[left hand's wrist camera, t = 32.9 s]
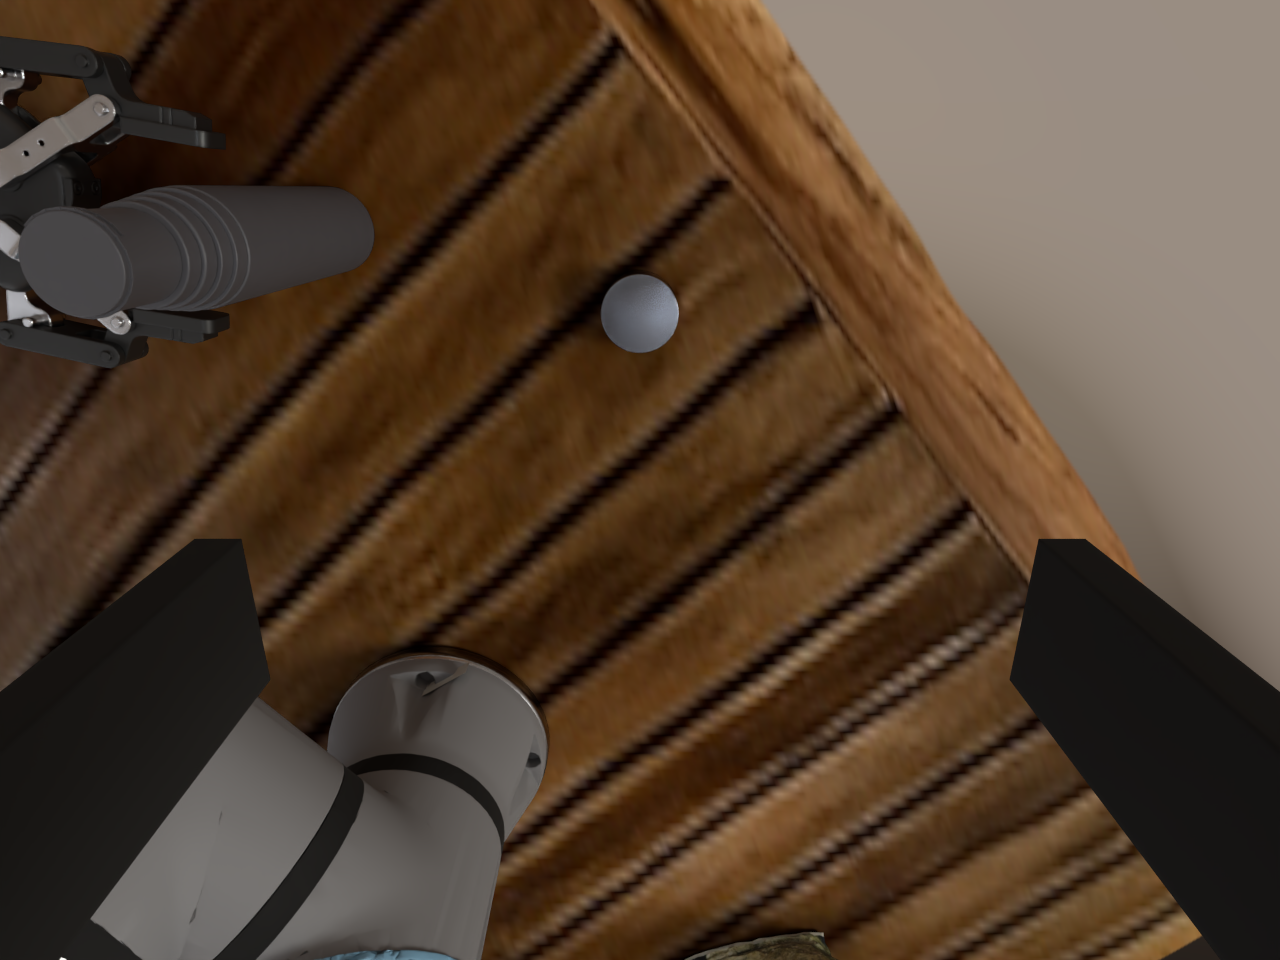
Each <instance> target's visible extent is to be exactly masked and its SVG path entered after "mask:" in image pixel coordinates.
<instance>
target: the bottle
mask: <svg viewBox="0 0 1280 960" xmlns="http://www.w3.org/2000/svg"><path fill="white" fill-rule="evenodd" d="M24 226H25V228H24V229H23V231H22V233H21V236H20V239H19V245H18V255H19V261H20V266H21V269H22V271H23V274H24V276H25V278H26V280H27V282H28V283H29V285H30V286H31V288H32V289H33V290H34V291H35V293H36V294H37V295H38V296H39V297H40V298H41V299H42V300H44V301H45V302H46V303H47V304H49V305H50V306H52V307H53V308H55V309H57V310H58V311H61V312H63V313H65V314H68V315H72V316H76V317H79V318H86V319H99V318H106V317H109V316H111V315H113V314H115V313H117V312H119V311H122V310H126V309H131V308H137V309H143V310H154V309H155V310H170V311H200V310H209V309H215V308H219V307H222V306H226V305H230V304H233V303H237V302H240V301H244V300H247V299H251V298H254V297H258V296H261V295H265V294H269V293H272V292H276V291H279V290H283V289H286V288H290V287H293V286H297V285H301V284H304V283H308V282H311V281H315V280H318V279H322V278H325V277H329V276H333V275H336V274H340V273H343V272H347V271H350V270H353V269H355V268H357V267H359V266H360V265H361V264H362V263H363V262H364V261H365V260H366V259H367V258H368V256H369V254H370V252H371V250H372V247H373V243H374V228H373V223H372V220H371V217H370V215H369V213H368V211H367V210H366V208H365V207H364V205H363V204H362V203H361V202H360V201H359V200H358V199H357V198H356V197H355V196H353V195H352V194H350V193H349V192H347V191H345V190H343V189H340V188H336V187H327V186H209V185H173V186H166V187H160V188H153V189H149V190H146V191H144V192H141V193H137V194H134V195H132V196H129V197H126V198H123V199H120V200H118V201H115V202H111V203H108V204H106V205H103V206H102V207H100V208H97V209H86V208H80V207H72V206H65V207H62V206H58V207H53V208H47V209H43V210H41V211H39V212H38V213H36V214H34V215H32V216H31V217H30V218H29V219H28V220H27V221H26V223H25V224H24Z"/></svg>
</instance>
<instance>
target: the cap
mask: <svg viewBox="0 0 1280 960" xmlns="http://www.w3.org/2000/svg"><path fill="white" fill-rule="evenodd" d="M678 318H679V309H678V304H677V300H676V297H675V295H674V292H673V290H672V288H671V287H670V285H669V284H668V283H667V282H666V281H665V280H664V279H663V278H662V277H660V276H658V275H657V274H654V273H652V272H648V271H631V272H628V273H625V274H623V275H621V276H620V277H618V278H617V279H616V280H615V281H614V282H613V283H612V284H611V285H610V286H609V288H608V290H607V291H606V294H605V296H604V299H603V303H602V307H601V320H602V325H603V328H604V330H605V332H606V334H607V336H608V337H609V338H610V340H611V341H612V342H613V343H614V344H616V345H617V346H618V347H620V348H622V349H624V350H626V351H629V352H634V353H646V352H650V351H653V350H656V349H658V348H660V347H661V346H663V345H664V344H665V343H666V342H667V341H668V340H669V339H670V338H671V337H672V335H673V333H674V332H675V329H676V327H677V324H678Z"/></svg>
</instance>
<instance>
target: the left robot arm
mask: <svg viewBox="0 0 1280 960" xmlns="http://www.w3.org/2000/svg"><path fill="white" fill-rule="evenodd" d="M269 681H270V675H269V671H268V666H267V661H266V656H265V651H264V646H263V642H262V637H261V632H260V627H259V622H258V617H257V613H256V608H255V603H254V598H253V593H252V588H251V584H250V579H249V574H248V569H247V564H246V559H245V555H244V550H243V545H242V540H241V539H194V540H193V541H192V542H190V543H189V544H188V545H186V546H185V547H184V548H183V549H181V550H180V551H179V552H178V553H176V554H175V555H174V556H172V557H171V558H170V559H169V560H167V561H166V562H165V563H164V564H162V565H161V566H160V567H158V568H157V569H156V570H155V571H153V572H152V573H151V574H150V575H148V576H147V577H146V578H144V579H143V580H142V581H141V582H139V583H138V584H137V585H136V586H134V587H133V588H132V589H130V590H129V591H128V592H127V593H125V594H124V595H123V596H122V597H120V598H119V599H118V600H116V601H115V602H114V603H113V604H111V605H110V606H109V607H108V608H106V609H105V610H104V611H102V612H101V613H100V614H99V615H97V616H96V617H95V618H94V619H92V620H91V621H90V622H88V623H87V624H86V625H85V626H83V627H82V628H81V629H80V630H78V631H77V632H76V633H75V634H73V635H72V636H71V637H69V638H68V639H67V640H66V641H64V642H63V643H62V644H61V645H59V646H58V647H57V648H55V649H54V650H53V651H52V652H50V653H49V654H48V655H47V656H45V657H44V658H43V659H41V660H40V661H39V662H38V663H36V664H35V665H34V666H33V667H31V668H30V669H29V670H27V671H26V672H25V673H24V674H22V675H21V676H20V677H19V678H17V679H16V680H15V681H13V682H12V683H11V684H10V685H8V686H7V687H6V688H5V689H3V690H2V691H1V692H0V960H481V956H482V951H483V946H484V940H485V935H486V930H487V925H488V920H489V915H490V910H491V905H492V900H493V895H494V890H495V885H496V880H497V875H498V870H499V865H500V860H501V854H502V850H503V845H504V842H505V840H506V839H507V837H508V836H509V834H510V833H511V831H512V830H513V828H514V826H515V825H516V823H517V822H518V820H519V819H520V817H521V816H522V814H523V813H524V811H525V810H526V808H527V807H528V805H529V804H530V802H531V801H532V799H533V798H534V796H535V794H536V792H537V790H538V788H539V786H540V783H541V781H542V778H543V776H544V773H545V769H546V764H547V758H548V751H549V730H548V725H547V720H546V717H545V715H544V712H543V710H542V708H541V706H540V704H539V702H538V700H537V699H536V697H535V696H534V694H533V693H532V692H531V690H530V689H529V688H528V687H527V686H526V685H525V684H524V683H523V682H522V681H521V680H520V679H519V678H518V677H517V676H516V675H515V674H513V673H512V672H511V671H509V670H508V669H506V668H505V667H503V666H502V665H500V664H498V663H496V662H495V661H492V660H490V659H488V658H486V657H484V656H481V655H478V654H476V653H472V652H469V651H465V650H460V649H455V648H447V647H420V648H413V649H408V650H403V651H400V652H397V653H394V654H391V655H388V656H386V657H384V658H382V659H380V660H378V661H376V662H375V663H373V664H372V665H370V666H369V667H367V668H366V669H365V670H364V671H363V672H361V673H360V674H359V675H358V676H357V677H356V679H355V680H354V681H353V682H352V683H351V685H350V686H349V688H348V689H347V691H346V693H345V694H344V696H343V698H342V699H341V701H340V703H339V705H338V707H337V709H336V711H335V714H334V717H333V720H332V724H331V727H330V731H329V737H328V749H327V751H326V750H325V749H323V748H322V747H321V746H319V745H318V744H317V743H315V742H314V741H313V740H312V739H310V738H309V737H308V736H306V735H305V734H304V733H303V732H301V731H300V730H299V729H298V728H296V727H295V726H294V725H293V724H291V723H290V722H289V721H288V720H286V719H285V718H284V717H283V716H281V715H280V714H279V713H278V712H276V711H275V710H274V709H273V708H271V707H270V706H269V705H268V704H266V703H265V702H264V701H263V700H261V699H260V698H259V697H258V695H259V694H260V693H261V691H262V690H263V689H264V687H265V686H266V685H267V683H268V682H269ZM1010 681H1011V682H1012V683H1013V685H1014V686H1015V687H1016V689H1017V690H1018V691H1019V693H1020V694H1021V695H1022V697H1023V698H1024V699H1025V701H1026V702H1027V703H1028V705H1029V706H1030V707H1031V709H1032V710H1033V711H1034V713H1035V714H1036V715H1037V717H1038V718H1039V719H1040V721H1041V722H1042V723H1043V725H1044V726H1045V727H1046V729H1047V730H1048V731H1049V733H1050V734H1051V735H1052V737H1053V738H1054V739H1055V741H1056V742H1057V743H1058V745H1059V746H1060V747H1061V749H1062V750H1063V751H1064V753H1065V754H1066V755H1067V757H1068V758H1069V759H1070V761H1071V762H1072V763H1073V765H1074V766H1075V767H1076V768H1077V770H1078V771H1079V772H1080V774H1081V775H1082V776H1083V778H1084V779H1085V780H1086V782H1087V783H1088V784H1089V786H1090V787H1091V788H1092V790H1093V791H1094V792H1095V794H1096V795H1097V796H1098V798H1099V799H1100V800H1101V802H1102V803H1103V804H1104V806H1105V807H1106V808H1107V810H1108V811H1109V812H1110V814H1111V815H1112V816H1113V818H1114V819H1115V820H1116V822H1117V823H1118V824H1119V826H1120V827H1121V828H1122V830H1123V831H1124V832H1125V834H1126V835H1127V836H1128V838H1129V839H1130V840H1131V842H1132V843H1133V844H1134V846H1135V847H1136V848H1137V849H1138V851H1139V852H1140V853H1141V855H1142V856H1143V857H1144V859H1145V860H1146V861H1147V863H1148V864H1149V865H1150V867H1151V868H1152V869H1153V871H1154V872H1155V873H1156V875H1157V876H1158V877H1159V879H1160V880H1161V881H1162V883H1163V884H1164V885H1165V887H1166V888H1167V889H1168V891H1169V892H1170V893H1171V895H1172V896H1173V897H1174V899H1175V900H1176V901H1177V903H1178V904H1179V905H1180V907H1181V908H1182V909H1183V911H1184V912H1185V913H1186V915H1187V916H1188V917H1189V919H1190V920H1191V921H1192V923H1193V924H1194V925H1195V927H1196V928H1197V929H1198V930H1199V932H1200V933H1201V934H1202V936H1203V937H1204V938H1205V940H1206V941H1207V942H1208V944H1209V945H1210V946H1211V948H1212V949H1213V950H1214V952H1215V953H1216V954H1217V956H1218V957H1219V958H1220V960H1280V692H1279V691H1278V690H1277V689H1275V688H1274V687H1273V686H1272V685H1270V684H1269V683H1268V682H1267V681H1265V680H1264V679H1263V678H1261V677H1260V676H1259V675H1258V674H1256V673H1255V672H1254V671H1253V670H1251V669H1250V668H1249V667H1247V666H1246V665H1245V664H1244V663H1242V662H1241V661H1240V660H1238V659H1237V658H1236V657H1235V656H1233V655H1232V654H1231V653H1230V652H1228V651H1227V650H1226V649H1225V648H1223V647H1222V646H1221V645H1219V644H1218V643H1217V642H1216V641H1214V640H1213V639H1212V638H1211V637H1209V636H1208V635H1207V634H1205V633H1204V632H1203V631H1202V630H1200V629H1199V628H1198V627H1197V626H1195V625H1194V624H1193V623H1191V622H1190V621H1189V620H1188V619H1186V618H1185V617H1184V616H1183V615H1181V614H1180V613H1179V612H1177V611H1176V610H1175V609H1174V608H1172V607H1171V606H1170V605H1169V604H1167V603H1166V602H1165V601H1163V600H1162V599H1161V598H1160V597H1158V596H1157V595H1156V594H1155V593H1153V592H1152V591H1151V590H1150V589H1148V588H1147V587H1146V586H1144V585H1143V584H1142V583H1141V582H1139V581H1138V580H1137V579H1136V578H1134V577H1133V576H1132V575H1130V574H1129V573H1128V572H1127V571H1125V570H1124V569H1123V568H1122V567H1120V566H1119V565H1118V564H1116V563H1115V562H1114V561H1113V560H1111V559H1110V558H1109V557H1108V556H1106V555H1105V554H1104V553H1102V552H1101V551H1100V550H1099V549H1097V548H1096V547H1095V546H1094V545H1092V544H1091V543H1090V542H1088V541H1087V540H1086V539H1039V540H1038V545H1037V550H1036V555H1035V559H1034V564H1033V569H1032V574H1031V579H1030V584H1029V588H1028V593H1027V598H1026V603H1025V608H1024V613H1023V617H1022V622H1021V627H1020V632H1019V637H1018V642H1017V646H1016V651H1015V656H1014V661H1013V666H1012V671H1011V675H1010Z"/></svg>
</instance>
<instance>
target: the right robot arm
mask: <svg viewBox="0 0 1280 960" xmlns="http://www.w3.org/2000/svg"><path fill="white" fill-rule="evenodd" d="M39 74H41V75H49V76H58V77H66V78H75V79H83V82H84V84H85V87H86V89H87V92H88V94H89V98H88V99H86V100H85V101H83V102H82V103H80V104H79V105H77V106H76V107H74V108H73V109H71V110H70V111H68V112H67V113H65V114H63V115H61V116H56V117H52V118H49V119H47V120H46V121H44V122H42V123H41V122H39V121H38V120H37V119H36V118H35V117H34V116H32V115H31V114H30V113H29V112H28V111H26V110H25V109H23V108H22V107H19V106H18V105H17V100H18V97H19V95H20V94H21V93H23V92H27V91H33V90H35V89H36V88H37V86H38V85H39V84H41V82H42V78H41V76H40V75H39ZM130 77H131V68H130V65H129V63H128V62H127V61H126V59H124V58H123V57H122V56H119V55H116V54H112V53H105V52H99V51H95V50H93V49H91V48H88V47H84V46H79V45H70V44H62V43H53V42H45V41H37V40H28V39H20V38H11V37H3V36H0V286H1V287H2V288H4V289H6V297H7V312H8V321H3V322H0V343H1V344H3V345H5V346H9V347H14V348H18V349H23V350H28V351H32V352H37V353H42V354H46V355H51V356H55V357H60V358H65V359H69V360H74V361H79V362H83V363H88V364H92V365H97V366H102V367H106V368H113V367H116V366H119V365H122V364H125V363H128V362H130V361H133V360H136V359H139V358H142V357H144V356H146V355H147V353H148V350H149V348H148V344H147V342H146V341H147V338H148V336H149V337H156V338H162V339H168V340H174V341H182V342H186V343H193V344H194V343H198V342H202V341H206V340H208V339H211V338H214V337H217V336H218V332H221V331H223V330H226V329H229V328H230V324H229V314H228V313H224V312H218V311H212V310H200V311H170V310H155V309H154V310H143V309H137V308H131V309H126V310H122V311H119V312H117V313H115V314H113V315H111V316H109V317H106V318H99V319H97V320H99V321H100V322H101V323H102V324H103V325H105V326H106V327H107V329H106V328H102V327H97V326H93V325H88V324H84V323H79V322H75V321H70V320H65V318H66V314H65V313H63V312H61V311H58V310H57V309H55V308H53V307H52V306H50V305H49V304H47V303H45V302H44V301H43V300H42V299H41V298H40V297H39V296H38V295H37V294H36V293H35V291H34V290H33V289H32V288H31V286H30V285H29V283H28V282H27V280H26V278H25V276H24V274H23V271H22V269H21V266H20V261H19V255H18V245H19V239H20V236H21V233H22V231H23V229H24V228H25V226H24V224H25V223H26V221H27V220H28V219H29V218H30V217H31V216H32V215H34V214H36V213H38V212H39V211H41V210H43V209H47V208H53V207H58V206H62V207H65V206H72V207H80V208H86V209H97V208H100V203H101V198H102V192H101V179H97V178H94V175H93V173H92V171H91V169H90V166H91V165H93V164H94V163H96V162H97V161H99V160H100V159H102V158H103V157H105V156H106V155H108V154H109V153H111V152H112V151H114V150H115V149H116V148H117V143H119V142H120V141H122V140H123V139H125V138H126V137H128V136H129V135H136V136H141V137H147V138H153V139H158V140H164V141H170V142H175V143H181V144H186V145H192V146H198V147H204V148H213V149H224V150H226V139H225V134H223V133H218V132H212V120H211V119H209V118H207V117H206V116H204V115H202V114H201V113H196V112H190V111H185V110H179V109H173V108H168V107H162V106H157V105H151V104H147V103H144V102H143V101H141V100H140V99H139V98H138V97H137V96H136V95H135V93H134V92H133V90H132V87H131V85H130V82H129V79H130Z"/></svg>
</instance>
